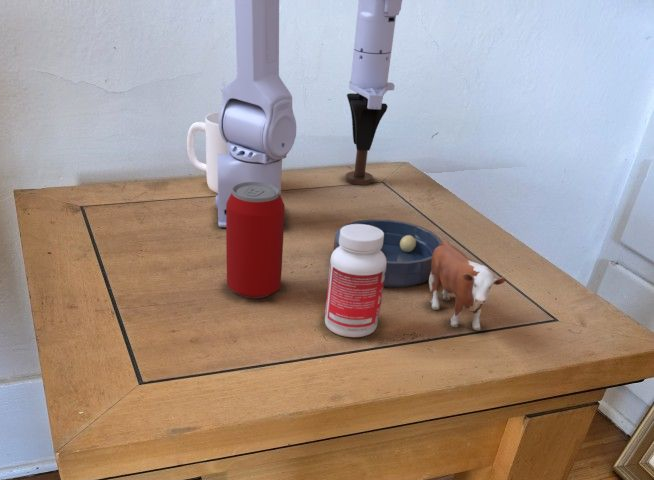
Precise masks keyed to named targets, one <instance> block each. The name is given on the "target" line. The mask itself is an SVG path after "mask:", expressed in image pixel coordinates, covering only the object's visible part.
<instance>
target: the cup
mask: <svg viewBox="0 0 654 480" xmlns="http://www.w3.org/2000/svg"><path fill="white" fill-rule="evenodd" d="M220 112H221V110H220V111H214V112H211V113H207V115H205V117H204V118H205V119H204V121H203V122H202V121H196V122H194V123H192V124H191V125H190V126H189V128H188V131H187V138H186V150H187V156H188V159H189V162H190V163H191V164H192V166H193V167H194V168H195V169H196V170H198V171H201V172H204V173H206V183H207V186H208V188H209V190H210V191H212V192H214V193H216V194H218V154H227V153H230V152H228V151H227V143H226V142H225V141H224V140H223V138H222V136H221V134H220V130H219V116H220ZM197 131H200V132H203V133H205V162H201V161H200V160H199V159H198V158H197V156H196V154H195V146H194V143H195V135H196V133H197Z"/></svg>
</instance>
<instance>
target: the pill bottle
mask: <svg viewBox="0 0 654 480" xmlns="http://www.w3.org/2000/svg"><path fill="white" fill-rule="evenodd" d="M345 225H346V224H345ZM343 226H344V225H343ZM343 226H341V227H342V228H341V227H340V228H341V230H340V237H339V245H340V246H339V247H338V248H336V249H335V250H334V251H333V250H332V253H331V255H330V259H329V260H330V261H329V271H328V280H327V291H326V302H325V311H324V324H325V326H326V327H327V329H328V330H329V331H331V332H332V333H333V334H336V335H337V336H341V337H346V338H362V337H366V336H369V335H372V333H374V332H375V331H376V329H377V327H378V323H379V317H380V311H381V306H382V305H381V304H382V299H383V291H384V287H383V285H384V278H385V272H386V264H387V261H386V257H385V255H384V254H383V252H382V251H381V250H380V249H381V248H382V246H383V240H384V233H383V231H382V230H380V229H379V228H377V227H374V226H370V225H365V224H351V225H346V226H344V227H343Z"/></svg>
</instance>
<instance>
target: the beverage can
mask: <svg viewBox="0 0 654 480" xmlns="http://www.w3.org/2000/svg"><path fill="white" fill-rule="evenodd" d="M282 198H283V197H282V195H281V196H280V194H279V189H278V188H277V187H276V186H274V185H271V184H268V183H263V182H244V183H240V184H237V185H235V186H234V187H233V189H232V193H231V195H230V197H229V199H228V201H227V203H226V227H225V236H226V237H225V239H226V243H225V244H226V245H225V246H226V247H225V249H226V250H225V251H226V254H225V255H226V256H225V257H226V284H227V287H228V288H229V289H230V290H231V291H233V292H234V293H236V294H237V295H238V296H241V297H244V298H247V299H248V298H249V299H260V298H266V297H269V296H271V294H274V293H275V292H277V291H278V290H279V289H280V287H281V285H282V284H281V283H282V272H283V271H282V270H283V269H282V268H283V253H284V230H285V203H284V201H283V199H282Z"/></svg>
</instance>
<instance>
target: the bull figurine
mask: <svg viewBox="0 0 654 480" xmlns="http://www.w3.org/2000/svg"><path fill="white" fill-rule="evenodd" d="M431 269H432V270H431V273H430V277H429V280H428V286H429V291H430V292H431V293H432V299H431V300H430V304H431V309H432V310H434V311H438V310H440V309H441V307H440V301H439V290H440V288H441V287H440V286H442V288H443V290H442V292H441V293H442V294H441V295H442V300H444V301H446V302H447V301H450V300H451V298H454V297H455V303H454V313H453V315H452V317H450V327H451V328H458V327H459V318H460V317H459V316H460V315H461V313H462V312H463V307H465V308H466V310H467V311H468V312H472V313H473V320H472V322H471V324H472V326H471V327H472V328H471V329H472V330H473V331H477V332H478V331H481V330H482V327H481V323H480V316H481V313H482V305H485V304H487V301H488V296H489V294H490V292H491V290H492V287H493V285H496V286H497V285H498V286H499V285H503V284H504V283H505V282H506V281H507V280H506V278H505V277H503V276H501V277H494V274H493V273H492V272H491V271H490V269H489V267H487V266H486V265H483V264H480V263H477V262H475V261H473V260H472V259H471V258H469V257H468V256H467V255H466V254H465V253H464V252H463V251H461V250H460V249H458V248H457V247H456V246H454V245H452V244H450V243H449V242H448V241H442V243H441V244H440V245H439V246H438V247H437V248H435V250H434V252H433V255H432V263H431Z"/></svg>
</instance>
